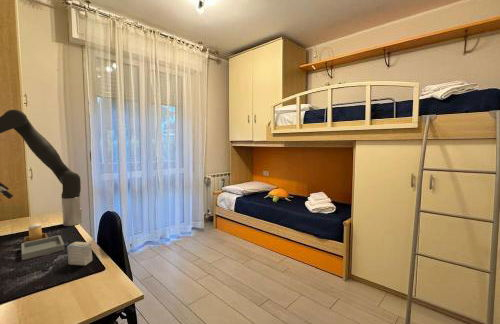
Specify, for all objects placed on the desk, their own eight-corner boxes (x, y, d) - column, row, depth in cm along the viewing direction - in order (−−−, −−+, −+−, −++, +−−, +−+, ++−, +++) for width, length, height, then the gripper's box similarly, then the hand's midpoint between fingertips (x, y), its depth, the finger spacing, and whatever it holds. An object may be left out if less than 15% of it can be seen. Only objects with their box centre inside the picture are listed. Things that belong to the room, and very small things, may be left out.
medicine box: (92, 260, 107) (91, 242, 106) (84, 266, 103) (83, 246, 102) (76, 259, 108) (75, 241, 107) (68, 264, 104) (66, 245, 103)
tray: (60, 240, 128) (60, 235, 128) (64, 249, 117) (64, 244, 117) (21, 248, 117) (21, 243, 117) (22, 260, 107) (21, 254, 106)
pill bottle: (42, 238, 129) (40, 222, 128) (42, 241, 126) (41, 224, 125) (29, 241, 126) (28, 224, 125) (29, 244, 122) (28, 227, 121)
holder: (46, 236, 132) (46, 232, 132) (48, 241, 126) (47, 237, 126) (24, 241, 126) (23, 237, 126) (24, 246, 119) (24, 243, 119)
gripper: (-32, 173, 110) (0, 197, 114) (-8, 169, 124) (21, 191, 128) (-46, 185, 110) (-13, 208, 113) (-19, 180, 123) (9, 201, 127)
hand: (5, 199), depth 121 cm, fingers open, 8 cm apart
